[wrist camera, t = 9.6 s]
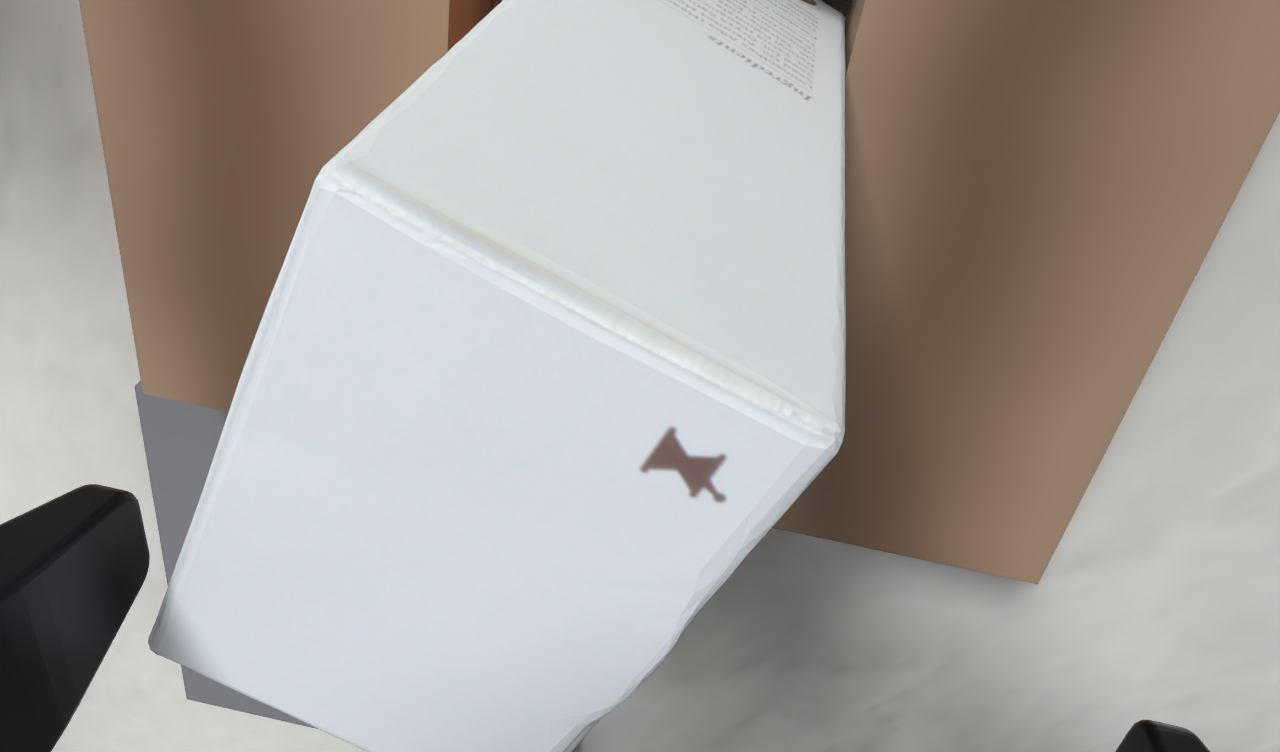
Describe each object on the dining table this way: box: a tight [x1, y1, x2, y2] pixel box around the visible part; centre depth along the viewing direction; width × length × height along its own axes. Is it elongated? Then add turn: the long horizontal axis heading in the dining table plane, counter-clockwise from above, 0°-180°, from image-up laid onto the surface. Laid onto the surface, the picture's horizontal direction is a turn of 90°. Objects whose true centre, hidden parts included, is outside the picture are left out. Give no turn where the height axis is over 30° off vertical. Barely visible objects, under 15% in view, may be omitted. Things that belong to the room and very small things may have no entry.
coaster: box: [135, 381, 318, 729], centre depth 26 cm, size 11×11×1 cm
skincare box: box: [148, 0, 846, 752], centre depth 13 cm, size 6×4×12 cm
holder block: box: [79, 0, 1280, 584], centre depth 17 cm, size 18×14×2 cm
